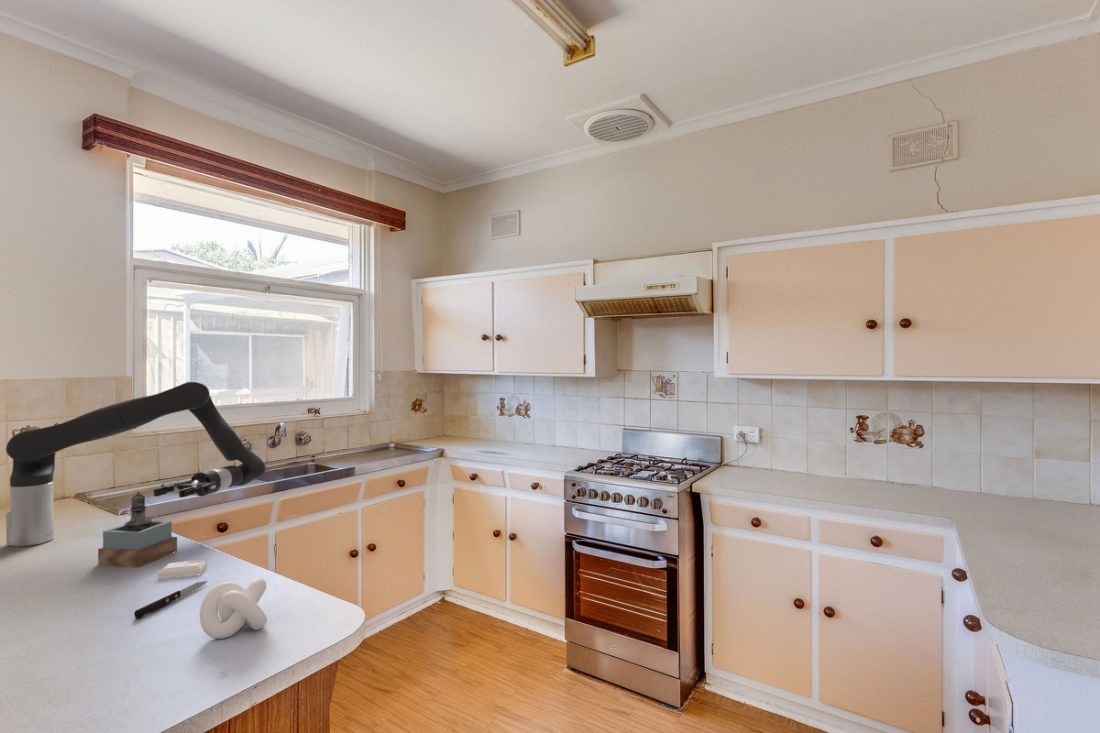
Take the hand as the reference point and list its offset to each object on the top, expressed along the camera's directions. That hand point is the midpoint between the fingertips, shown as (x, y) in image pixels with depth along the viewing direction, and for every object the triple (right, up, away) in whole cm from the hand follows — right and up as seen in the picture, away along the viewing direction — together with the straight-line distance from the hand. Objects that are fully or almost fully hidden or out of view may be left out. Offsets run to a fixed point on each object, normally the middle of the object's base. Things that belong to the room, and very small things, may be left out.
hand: (167, 493), depth 156 cm
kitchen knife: (+27, -15, -37) cm, 48 cm away
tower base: (-1, -16, -10) cm, 18 cm away
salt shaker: (-1, -9, -10) cm, 13 cm away
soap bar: (+19, -16, -21) cm, 32 cm away
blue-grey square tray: (-1, -11, -10) cm, 15 cm away
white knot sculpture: (+49, -15, -49) cm, 71 cm away
